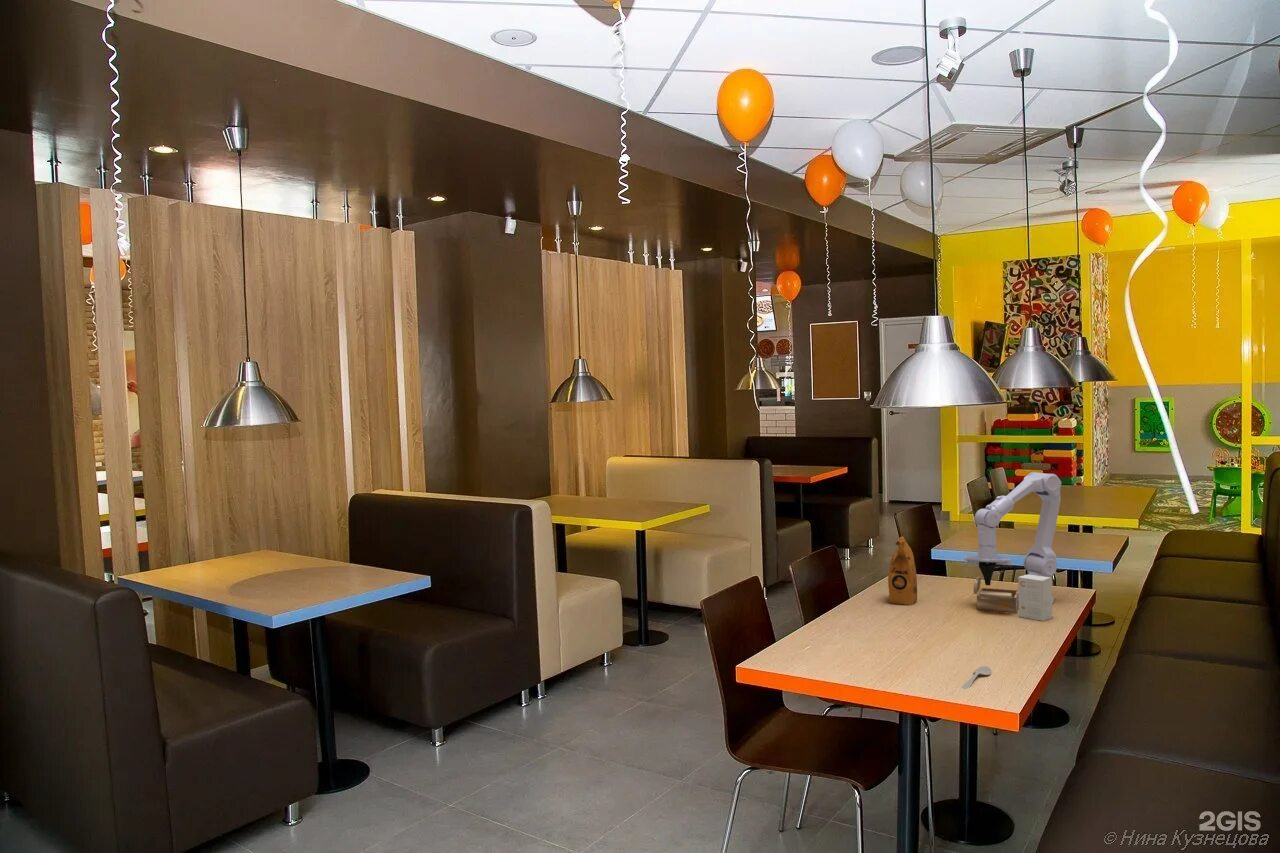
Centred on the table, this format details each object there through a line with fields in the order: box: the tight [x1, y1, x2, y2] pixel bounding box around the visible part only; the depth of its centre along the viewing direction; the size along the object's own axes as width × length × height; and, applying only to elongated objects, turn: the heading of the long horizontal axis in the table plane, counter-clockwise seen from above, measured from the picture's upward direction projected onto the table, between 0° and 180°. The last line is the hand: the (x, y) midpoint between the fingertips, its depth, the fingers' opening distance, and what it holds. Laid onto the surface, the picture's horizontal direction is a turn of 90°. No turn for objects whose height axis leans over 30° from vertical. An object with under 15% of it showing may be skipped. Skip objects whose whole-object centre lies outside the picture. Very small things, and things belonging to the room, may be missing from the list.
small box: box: [1017, 573, 1053, 622], centre depth 278 cm, size 8×6×13 cm
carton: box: [976, 587, 1019, 614], centre depth 292 cm, size 12×12×5 cm
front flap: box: [979, 590, 1012, 601], centre depth 285 cm, size 4×10×1 cm
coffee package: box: [887, 535, 918, 606], centre depth 305 cm, size 10×12×22 cm
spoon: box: [961, 665, 992, 690], centre depth 220 cm, size 4×21×2 cm, turn 140°
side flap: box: [972, 575, 982, 595], centre depth 295 cm, size 4×10×1 cm
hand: (987, 584), depth 293 cm, fingers closed
